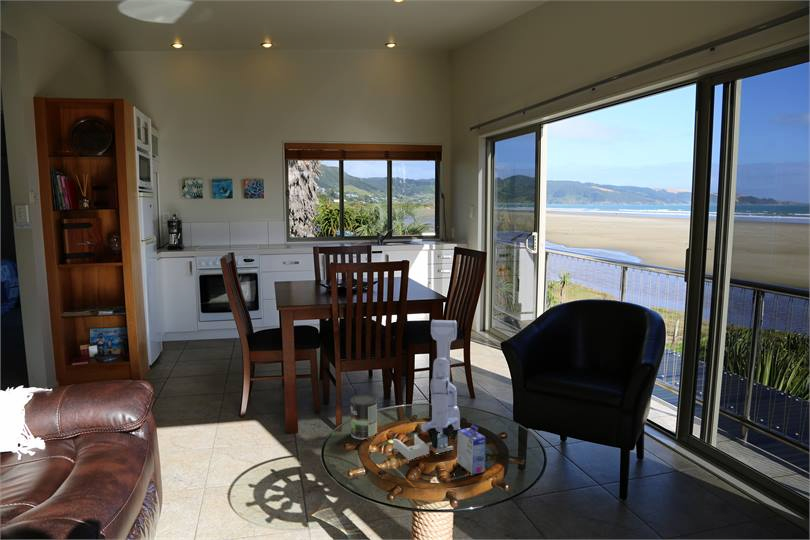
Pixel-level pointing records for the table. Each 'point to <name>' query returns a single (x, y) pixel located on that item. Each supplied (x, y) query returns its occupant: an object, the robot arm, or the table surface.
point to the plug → (442, 441)
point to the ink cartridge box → (471, 450)
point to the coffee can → (363, 416)
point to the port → (411, 448)
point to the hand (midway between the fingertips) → (440, 446)
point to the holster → (441, 448)
